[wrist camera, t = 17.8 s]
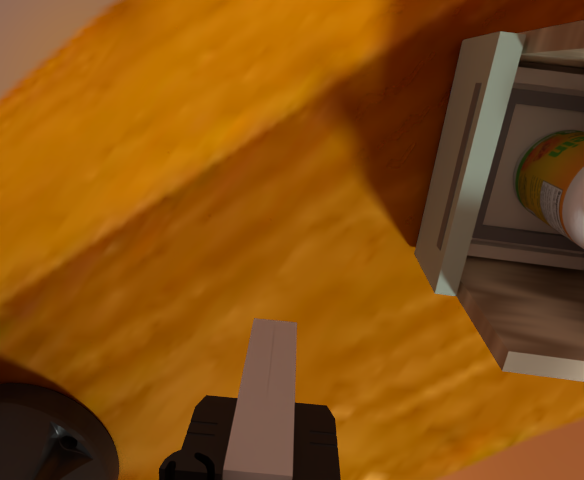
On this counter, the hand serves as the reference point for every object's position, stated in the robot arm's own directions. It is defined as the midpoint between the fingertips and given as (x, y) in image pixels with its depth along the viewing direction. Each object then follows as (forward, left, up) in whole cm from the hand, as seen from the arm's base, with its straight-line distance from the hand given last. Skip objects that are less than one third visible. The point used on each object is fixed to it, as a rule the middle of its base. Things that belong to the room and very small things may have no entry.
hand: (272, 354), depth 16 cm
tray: (+15, +5, -16) cm, 23 cm away
